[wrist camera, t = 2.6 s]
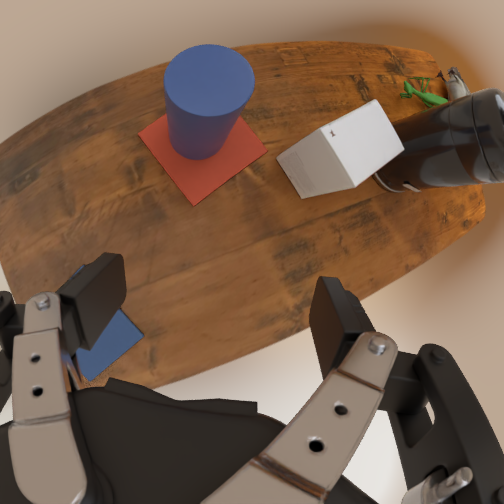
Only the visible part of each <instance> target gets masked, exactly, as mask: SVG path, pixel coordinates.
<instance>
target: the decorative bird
mask: <svg viewBox="0 0 504 504" xmlns="http://www.w3.org/2000/svg"><path fill="white" fill-rule="evenodd" d="M448 72H449V73H448V74H449V76H450V79H449V81H448V82H447V81H446V80H444V78H443V77H442V76H443V75H442V73H441V70H440V73H438V76H437V77H442V79H443V80H444V82H445V84H446V86H447V89H448V100H449V101H452V100H455V99H457V98H460V97H463V96H466V95H469V94H471V93H470V91H469V89H468V88H467V86H466V84H465V83H464V81H463V79H461V76H460V73H459V72H458V70H457V68H454V67H451V69H448Z"/></svg>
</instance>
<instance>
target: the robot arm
mask: <svg viewBox="0 0 504 504" xmlns="http://www.w3.org/2000/svg"><path fill="white" fill-rule="evenodd" d="M391 125H392V126H393V128H394V130H395V132H396V134H397V135H398V137H399V139H400V141H401V143H402V145H403V147H404V151H402V152H401V153H400V154H398V155H397V156H396V157H395V158H393V159H392V160H391V161H389V162H388V163H387V164H385V165H384V166H383V167H382V168H380V169H379V170H378V171H376V172H375V173H374V174H372V176H373V177H374V179H375V180H376V182H377V183H378V184H379V185H380V186H381V187H382V188H384V189H385V190H387V191H389V192H393V193H398V192H404V191H409V190H413V191H415V192H421V191H420V189H430V188H440V187H451V186H462V185H475V184H486V183H503V182H504V92H502V91H501V90H499V89H497V88H488V89H484V90H481V91H478V92H475V93H472V94H469V95H466V96H463V97H460V98H457V99H455V100H452V101H449V102H446V103H443V104H440V105H438V106H435V107H432V108H429V109H427V110H424V111H421V112H419V113H416V114H414V115H411V116H408V117H406V118H403V119H401V120H398V121H396V122H393V123H391ZM126 291H127V289H126V280H125V270H124V260H123V257H122V255H121V254H114V253H106V252H105V253H103V254H102V255H101V256H100V257H98V258H97V259H96V260H95V261H94V262H92V263H90V264H88V265H86V266H84V267H83V268H81V269H80V270H79V271H78V272H77V274H75V275H74V276H72V277H71V279H69V280H68V281H67V282H66V283H65V284H64V285H63V286H61V287H60V288H59V289H58V290H57V291H56V292H55V293H54V292H41V293H38V294H35V295H34V296H32V297H31V298H30V299H29V300H28V301H27V303H26V304H14V301H13V297H12V294H11V293H10V292H7V291H0V345H1V348H2V350H1V351H0V412H1V411H2V409H3V407H4V405H5V404H6V402H7V400H8V398H9V397H10V395H11V394H12V407H13V420H12V421H9V422H7V423H5V424H3V425H0V504H378V503H377V502H376V501H375V500H373V499H372V498H371V497H369V496H368V495H367V494H366V493H364V492H363V491H362V490H361V489H359V488H358V487H357V486H356V485H354V484H353V483H352V482H351V481H350V480H348V479H347V478H346V477H345V476H344V475H342V473H343V471H344V470H345V468H346V467H347V465H348V463H349V461H350V460H351V458H352V456H353V454H354V453H355V451H356V449H357V448H358V446H359V444H360V442H361V440H362V439H363V437H364V434H365V433H366V430H367V429H368V427H369V425H370V423H371V421H372V419H373V417H374V415H375V413H376V410H383V411H387V413H388V416H389V420H390V423H391V427H392V430H393V433H394V437H395V440H396V445H397V448H398V452H399V456H400V460H401V464H402V468H403V472H404V476H405V480H406V485H407V490H408V492H407V493H406V494H405V495H404V497H403V499H402V502H401V504H504V454H503V451H502V449H501V447H500V444H499V442H498V440H497V438H496V436H495V433H494V431H493V429H492V427H491V425H490V423H489V421H488V419H487V417H486V415H485V413H484V411H483V409H482V407H481V405H480V403H479V402H478V399H477V398H476V396H475V394H474V392H473V390H472V389H471V387H470V385H469V383H468V382H467V380H466V378H465V377H464V375H463V373H462V371H461V370H460V368H459V367H458V365H457V363H456V362H455V360H454V358H453V357H452V355H451V354H450V353H449V352H448V351H447V350H446V349H445V348H443V347H441V346H439V345H436V344H425V345H423V346H422V347H421V348H420V350H419V352H418V354H417V355H416V354H411V353H406V352H401V351H398V347H397V344H396V343H395V342H394V340H393V339H391V338H390V337H389V336H387V335H385V334H382V333H380V332H376V330H375V329H374V327H373V325H372V323H371V321H370V319H369V318H368V316H367V314H366V313H365V310H364V309H363V307H362V305H361V303H360V301H359V300H358V298H357V297H356V296H355V295H354V294H352V293H351V292H350V291H347V290H344V288H343V286H342V284H341V282H340V281H339V279H338V278H334V277H323V276H320V277H319V278H318V280H317V283H316V288H315V292H314V296H313V300H312V304H311V308H310V313H309V324H310V328H311V332H312V336H313V339H314V344H315V348H316V352H317V356H318V359H319V364H320V368H321V372H322V377H323V382H322V383H321V385H320V386H319V387H318V389H317V390H316V391H315V393H314V394H313V395H312V396H311V398H310V399H309V400H308V401H307V402H306V404H305V405H304V406H303V407H302V408H301V410H300V411H299V412H298V413H297V414H296V415H295V417H294V418H293V419H292V420H291V421H290V422H289V424H288V425H285V424H284V423H282V422H281V421H278V420H276V419H274V418H272V417H269V416H267V415H264V414H260V413H257V402H252V401H239V400H228V399H204V400H183V401H181V400H174V399H172V398H169V397H167V396H165V395H162V394H160V393H158V392H155V391H153V390H151V389H149V388H147V387H145V386H142V385H138V384H134V383H130V382H126V381H122V380H118V379H115V378H111V377H109V379H108V381H107V383H106V385H105V387H90V388H85V385H84V381H83V377H82V372H81V368H80V364H79V359H78V355H77V353H76V351H77V349H78V348H81V349H84V350H88V351H91V349H92V347H93V346H94V344H95V343H96V341H97V340H98V338H99V337H100V335H101V334H102V332H103V331H104V329H105V328H106V327H107V325H108V324H109V322H110V321H111V319H112V318H113V316H114V315H115V314H116V312H117V311H118V309H119V308H120V307H121V305H122V304H123V302H124V300H125V297H126ZM428 402H430V404H431V407H432V409H433V411H434V415H435V420H434V424H432V422H431V419H430V417H429V414H428V412H427V409H426V407H425V406H426V404H427V403H428Z"/></svg>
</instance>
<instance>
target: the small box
mask: <svg viewBox="0 0 504 504" xmlns="http://www.w3.org/2000/svg"><path fill="white" fill-rule="evenodd" d="M402 151H404V147H403V145H402V143H401V141H400V139H399V137H398V135H397V134H396V132H395V130H394V128H393V126H392V125H391V123H390V121H389V119H388V118H387V116H386V114H385V112H384V111H383V109H382V107H381V106H380V104H379V103H378V101H377V100H376V99H375V100H372V101H371V102H369V103H367V104H365V105H363V106H361V107H360V108H358V109H356V110H354V111H352V112H350V113H348V114H346V115H344V116H342V117H340V118H338V119H337V120H335V121H333V122H331V123H329V124H326V125H324V126H322V127H320V128H318V129H317V130H316V131H314V132H312V133H311V134H309V135H308V136H306V137H305V138H303V139H302V140H300V141H299V142H297V143H296V144H294V145H293V146H291V147H290V148H288V149H287V150H285V151H284V152H283V153H281V154H280V155H278V156H277V157H276V159H277V161H278V162H279V164H280V165H281V167H282V168H283V170H284V172H285V173H286V175H287V176H288V178H289V179H290V181H291V182H292V184H293V186H294V187H295V189H296V190H297V192H298V194H299V195H300V197H301V198H302V199H303V198H308V197H313V196H317V195H322V194H327V193H331V192H336V191H341V190H345V189H350V188H356V187H357V186H358V185H359V184H361V183H362V182H363V181H365V180H366V179H367V178H369V177H370V176H371V175H372V174H374V173H375V172H376V171H378V170H379V169H380V168H382V167H383V166H384V165H385V164H387V163H388V162H389V161H391V160H392V159H393V158H395V157H396V156H397V155H398V154H400V153H401V152H402Z"/></svg>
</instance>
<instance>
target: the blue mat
mask: <svg viewBox="0 0 504 504" xmlns="http://www.w3.org/2000/svg"><path fill="white" fill-rule="evenodd" d="M84 266H85V265H83V266H82V267H81V268H83V267H84ZM81 268H80V269H81ZM80 269H79V270H80ZM79 270H78V271H79ZM78 271H77V272H78ZM77 272H76V273H75V274H77ZM75 274H74V275H75ZM74 275H73V276H74ZM70 279H71V278H70ZM143 337H144V335H143V333H142V332H141V331H140V330H139V329H138V328H137V327H136V326H135V325H134V324H133V323H132V322H131V321H130V319H129V318H128V317H127V316H126V315H125V314H124V313H123V312H122V311H121V309H120V308H119V309H118V311H117V312H116V314H115V315H114V316H113V318H112V319H111V321H110V322H109V324H108V325H107V327H106V328H105V329H104V331H103V332H102V334H101V335H100V337H99V338H98V340H97V341H96V343H95V344H94V346H93V347H92V349H91V351H88V350H84V349H81V348H78V349H77V351H76V353H77V355H78V359H79V364H80V368H81V372H82V374H83V375H84V376H85V377H86V378H87V379H88V380H89V381H91V380H93V379H94V378H95V377H96V376H97V375H99V374H100V373H101V372H102V371H103V370H104V369H106V368H107V367H108V366H109V365H110V364H112V363H113V362H114V361H115V360H116V359H118V358H119V357H120V356H121V355H122V354H123V353H125V352H126V351H127V350H128V349H129V348H131V347H132V346H133V345H134V344H135V343H137V342H138V341H139V340H140V339H141V338H143Z"/></svg>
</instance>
